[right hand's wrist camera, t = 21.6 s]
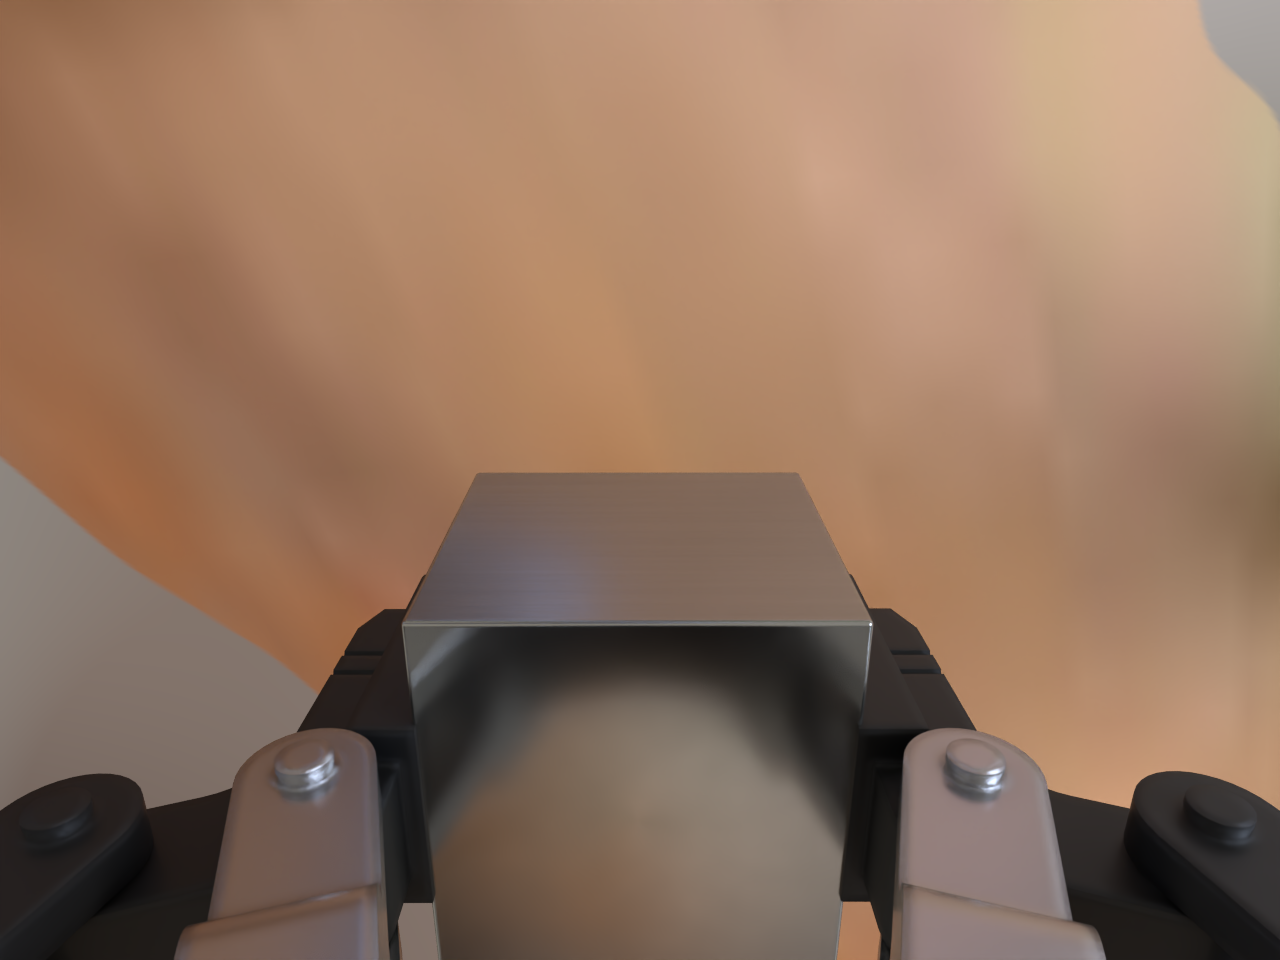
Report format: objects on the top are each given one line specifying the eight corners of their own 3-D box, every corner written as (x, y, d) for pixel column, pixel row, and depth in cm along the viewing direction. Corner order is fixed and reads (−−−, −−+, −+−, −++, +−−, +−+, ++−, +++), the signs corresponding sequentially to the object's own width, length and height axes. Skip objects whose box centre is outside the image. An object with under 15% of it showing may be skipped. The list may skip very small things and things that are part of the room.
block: (496, 751, 14) (440, 986, 10) (475, 471, 12) (398, 622, 8) (779, 750, 14) (835, 986, 10) (799, 471, 12) (874, 621, 8)
